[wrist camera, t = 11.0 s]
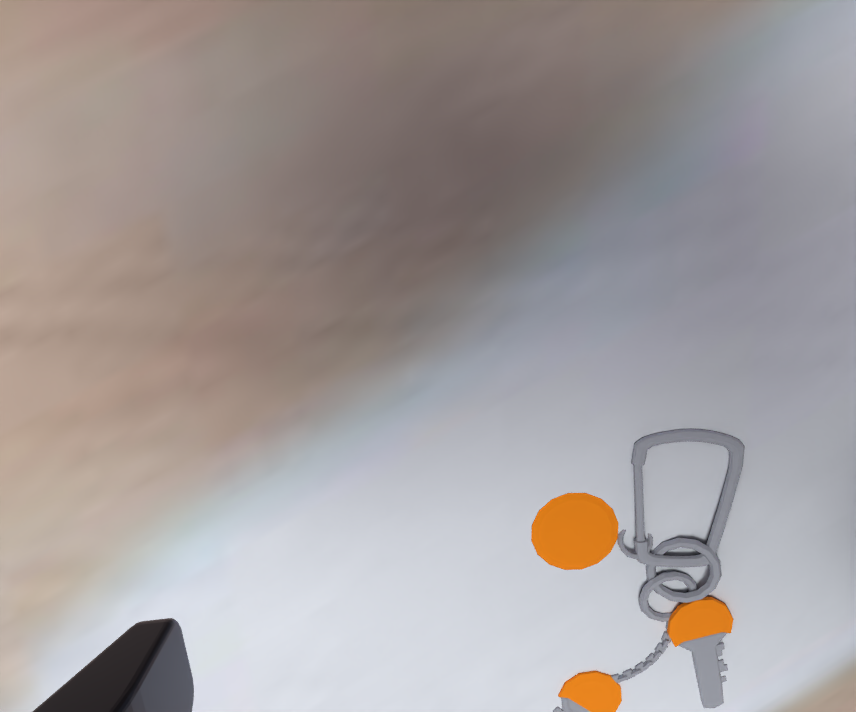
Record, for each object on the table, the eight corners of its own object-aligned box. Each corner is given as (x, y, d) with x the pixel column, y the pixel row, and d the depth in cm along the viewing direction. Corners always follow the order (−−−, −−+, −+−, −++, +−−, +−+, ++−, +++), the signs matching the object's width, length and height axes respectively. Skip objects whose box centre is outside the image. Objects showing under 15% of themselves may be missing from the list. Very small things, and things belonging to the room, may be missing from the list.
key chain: (529, 420, 22) (533, 431, 21) (773, 426, 22) (787, 437, 21) (503, 760, 26) (506, 780, 25) (711, 763, 26) (721, 784, 25)
